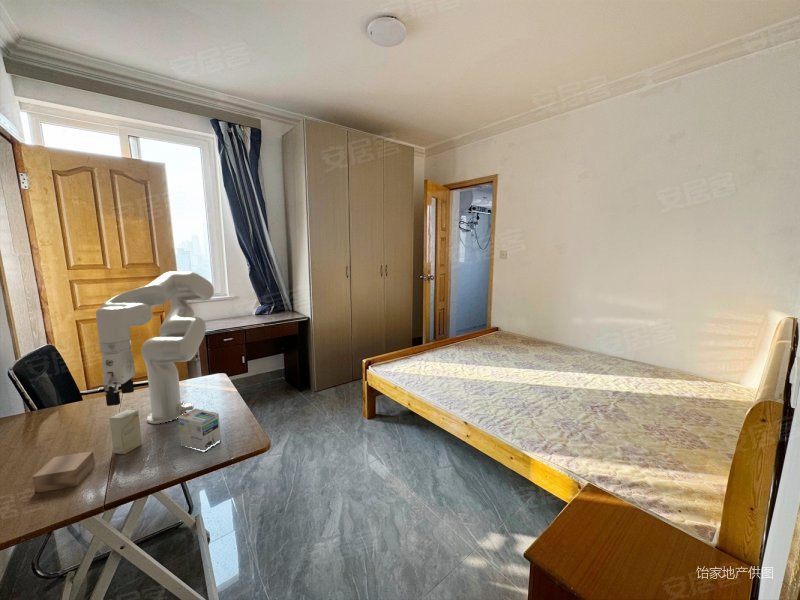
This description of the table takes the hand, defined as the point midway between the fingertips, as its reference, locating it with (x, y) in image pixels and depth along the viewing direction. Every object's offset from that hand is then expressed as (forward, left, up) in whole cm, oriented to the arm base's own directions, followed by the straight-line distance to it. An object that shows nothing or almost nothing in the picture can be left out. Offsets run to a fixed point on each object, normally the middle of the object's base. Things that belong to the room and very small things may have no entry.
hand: (121, 398), depth 106 cm
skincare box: (0, 0, -18) cm, 18 cm away
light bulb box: (-22, +5, -18) cm, 29 cm away
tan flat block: (+10, +12, -18) cm, 23 cm away
